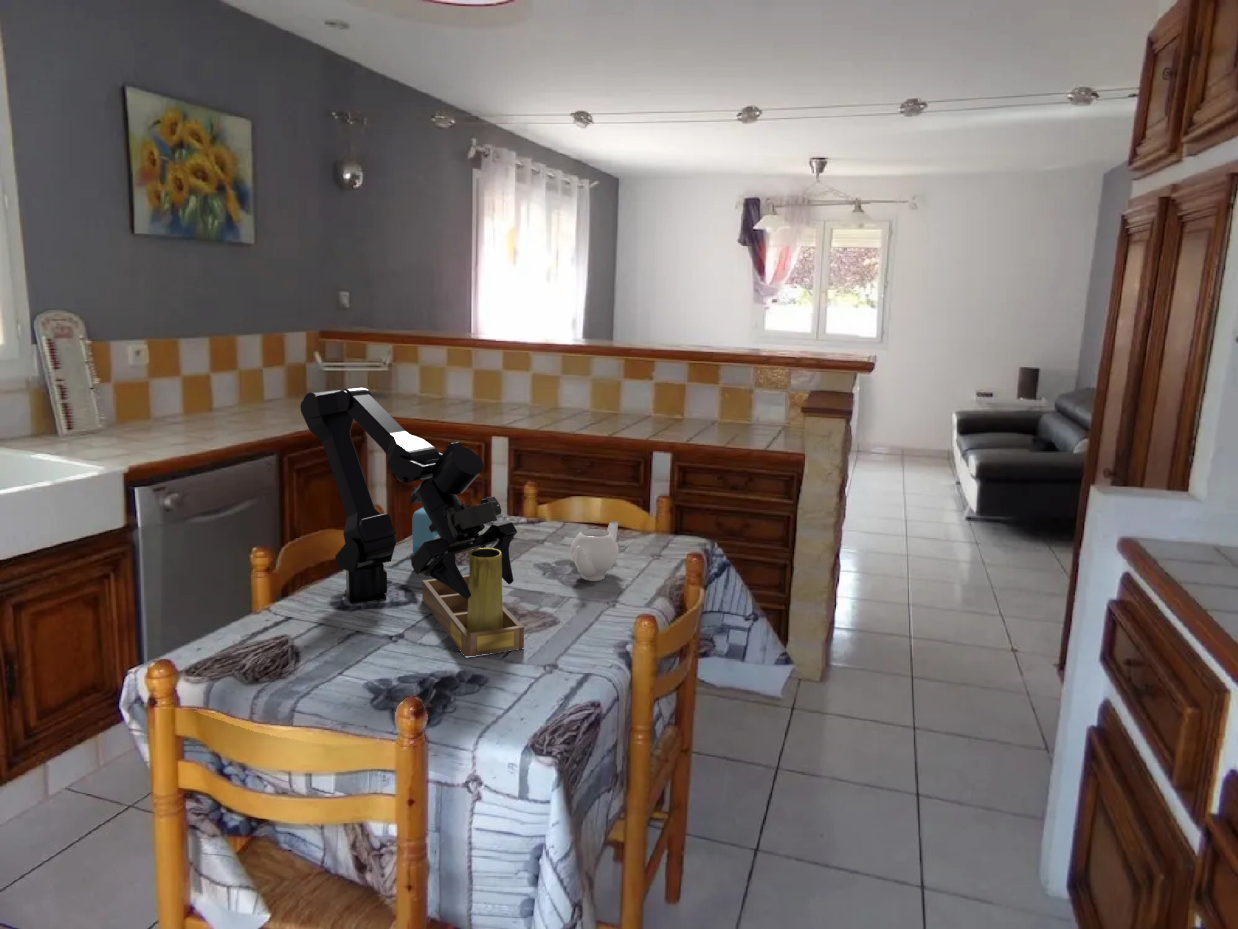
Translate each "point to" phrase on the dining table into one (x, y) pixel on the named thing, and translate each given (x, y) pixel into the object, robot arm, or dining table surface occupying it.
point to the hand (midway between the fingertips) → (490, 590)
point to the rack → (454, 621)
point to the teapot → (595, 551)
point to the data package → (421, 529)
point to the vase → (485, 590)
